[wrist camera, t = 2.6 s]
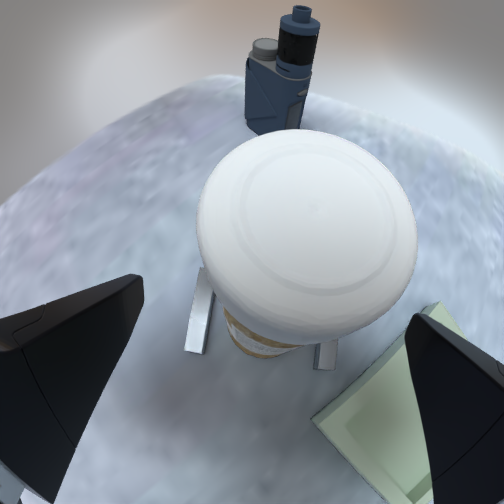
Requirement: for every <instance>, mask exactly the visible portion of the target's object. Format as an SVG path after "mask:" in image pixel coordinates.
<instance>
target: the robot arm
mask: <svg viewBox="0 0 504 504" xmlns="http://www.w3.org/2000/svg"><path fill="white" fill-rule="evenodd" d="M143 304H144V286H143V278H142V276H140V275H135V274H128V275H125V276H122V277H119V278H116V279H114V280H111V281H108V282H105V283H102V284H99V285H97V286H94V287H91V288H88V289H85V290H82V291H80V292H77V293H74V294H71V295H68V296H66V297H63V298H60V299H57V300H55V301H52V302H49V303H46V305H45V304H43V305H41V306H38V307H35V308H32V309H29V310H27V311H24V312H21V313H17V314H14V315H11V316H8V317H4V318H1V319H0V504H22V502H21V499H20V496H21V494H22V492H23V490H24V488H26V489H27V490H29V491H30V492H32V493H33V494H35V495H37V496H38V497H40V498H42V499H43V500H45V501H47V502H48V503H50V504H53V503H54V501H55V499H56V496H57V494H58V491H59V489H60V486H61V484H62V481H63V479H64V476H65V474H66V471H67V469H68V467H69V464H70V462H71V459H72V457H73V455H74V453H75V450H76V449H75V448H77V445H78V443H79V441H80V439H81V436H82V434H83V432H84V430H85V428H86V425H87V423H88V421H89V419H90V417H91V415H92V413H93V410H94V408H95V406H96V404H97V402H98V400H99V398H100V396H101V394H102V392H103V390H104V388H105V386H106V384H107V382H108V380H109V378H110V376H111V374H112V372H113V370H114V368H115V366H116V364H117V362H118V361H119V359H120V357H121V355H122V353H123V351H124V349H125V347H126V345H127V343H128V341H129V339H130V337H131V334H132V332H133V329H134V327H135V324H136V322H137V319H138V317H139V314H140V312H141V309H142V307H143ZM404 340H405V346H406V351H407V357H408V363H409V369H410V375H411V379H412V383H413V387H414V391H415V395H416V399H417V404H418V408H419V412H420V417H421V422H422V427H423V432H424V437H425V442H426V448H427V454H428V460H429V466H430V473H431V481H432V490H433V500H434V504H504V365H503V364H502V363H500V362H499V361H497V360H495V359H494V358H493V357H491V356H490V355H488V354H487V353H485V352H484V351H482V350H481V349H479V348H478V347H476V346H475V345H473V344H472V343H470V342H469V341H467V340H466V339H464V338H462V337H461V336H459V335H458V334H456V333H455V332H453V331H452V330H450V329H448V328H447V327H445V326H444V325H442V324H441V323H439V322H437V321H436V320H434V319H433V318H431V317H429V316H428V315H426V314H422V313H415V314H414V315H413V316H412V318H411V321H410V323H409V325H408V327H407V330H406V332H405V335H404Z"/></svg>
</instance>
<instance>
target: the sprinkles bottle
mask: <svg viewBox="0 0 504 504" xmlns="http://www.w3.org/2000/svg"><path fill="white" fill-rule="evenodd" d="M196 232H197V239H198V245H199V249H200V253H201V257H202V261H203V264H204V267H205V270H206V273H207V276H208V279H209V282H210V284H211V286H212V288H213V291H214V293H215V294H216V296H217V298H218V299H219V301H220V302H221V304H222V306H223V313H224V316H225V319H226V322H227V325H228V331H229V333H230V336H231V338H232V340H233V341H234V343H235V344H236V345H237V346H238V347H239V348H240V349H241V350H243V351H244V352H245V353H246V354H249V355H252V356H255V357H258V358H272V357H276V356H279V355H280V354H283V353H285V352H288V351H291V350H294V349H297V348H300V347H302V346H305V345H309V344H318V343H323V342H327V341H331V340H334V339H337V338H340V337H342V336H345V335H348V334H350V333H352V332H354V331H357V330H359V329H361V328H363V327H365V326H367V325H369V324H371V323H372V322H374V321H375V320H377V319H378V318H380V317H381V316H382V315H384V314H385V313H386V312H387V311H389V310H390V309H391V308H392V306H393V305H394V304H395V303H396V302H397V301H398V300H399V298H400V297H401V295H402V294H403V292H404V290H405V289H406V287H407V285H408V284H409V282H410V279H411V277H412V275H413V271H414V268H415V264H416V259H417V252H418V233H417V226H416V220H415V217H414V213H413V210H412V207H411V204H410V202H409V200H408V198H407V196H406V194H405V192H404V190H403V188H402V187H401V185H400V184H399V182H398V181H397V180H396V178H395V177H394V176H393V174H392V173H391V172H390V171H389V170H388V169H387V168H386V167H385V166H384V165H383V164H382V163H381V162H380V161H379V160H378V159H377V158H376V157H374V156H373V155H372V154H370V153H369V152H368V151H366V150H364V149H363V148H361V147H360V146H358V145H356V144H354V143H352V142H350V141H348V140H346V139H343V138H341V137H338V136H335V135H332V134H328V133H324V132H319V131H313V130H303V129H291V130H280V131H275V132H271V133H267V134H263V135H260V136H258V137H255V138H253V139H251V140H248V141H246V142H245V143H243V144H241V145H239V146H238V147H236V148H235V149H234V150H232V151H231V152H230V153H228V154H227V155H226V156H225V157H224V158H223V159H222V160H221V161H220V162H219V163H218V165H217V166H216V167H215V168H214V169H213V171H212V173H211V174H210V176H209V178H208V180H207V181H206V183H205V185H204V187H203V190H202V192H201V195H200V199H199V203H198V209H197V219H196Z"/></svg>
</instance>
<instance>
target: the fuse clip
mask: <svg viewBox="0 0 504 504" xmlns="http://www.w3.org/2000/svg"><path fill="white" fill-rule="evenodd" d="M214 294H215V293H214V291H213V288H212V286H211V284H210V282H209V279H208V276H207V273H206V270H205V268H202V267H200V270H199V274H198V279H197V284H196V289H195V294H194V299H193V304H192V309H191V314H190V320H189V325H188V330H187V336H186V341H185V347H184V350H185V351H188V352H193V353H198V354H204V351H205V345H206V339H207V333H208V328H209V322H210V316H211V311H212V305H213V300H214ZM337 345H338V338H337V339H334V340H331V341H327V342H323V343H318V344H316V350H315V359H314V368H313V369H320V370H335V364H336V355H337Z"/></svg>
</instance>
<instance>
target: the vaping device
mask: <svg viewBox="0 0 504 504" xmlns="http://www.w3.org/2000/svg"><path fill="white" fill-rule="evenodd" d="M311 11H312V9H311V8H309V7H306V6H301V5H296V6H294V7H293V13H292V14H289V15H284V16H282V17H281V20H280V29H279V39H278V41H277V40H275V39H269V38H261V39H257V40H255V41H254V42H253V50H252V51H251V52H250V53H249V57H248V58H247V61H246V76H245V119H247V125H248V127H249V128H251V129H252V130H253V131H254V132H256V133H257V134H258V135H259V136H260V135H263V134H267V133H271V132H275V131H280V130H291V129H299V127H300V123H301V118H302V114H303V109H304V104H305V100H306V96H307V93H308V88H309V84H310V79H311V75H312V71H311V69H312V64H313V59H314V54H315V49H316V43H317V39H318V37H317V36H318V33H319V29H320V23H319V22H318V21H317V20H315V19H313V18H311ZM316 34H317V36H316ZM316 38H317V39H316Z"/></svg>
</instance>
